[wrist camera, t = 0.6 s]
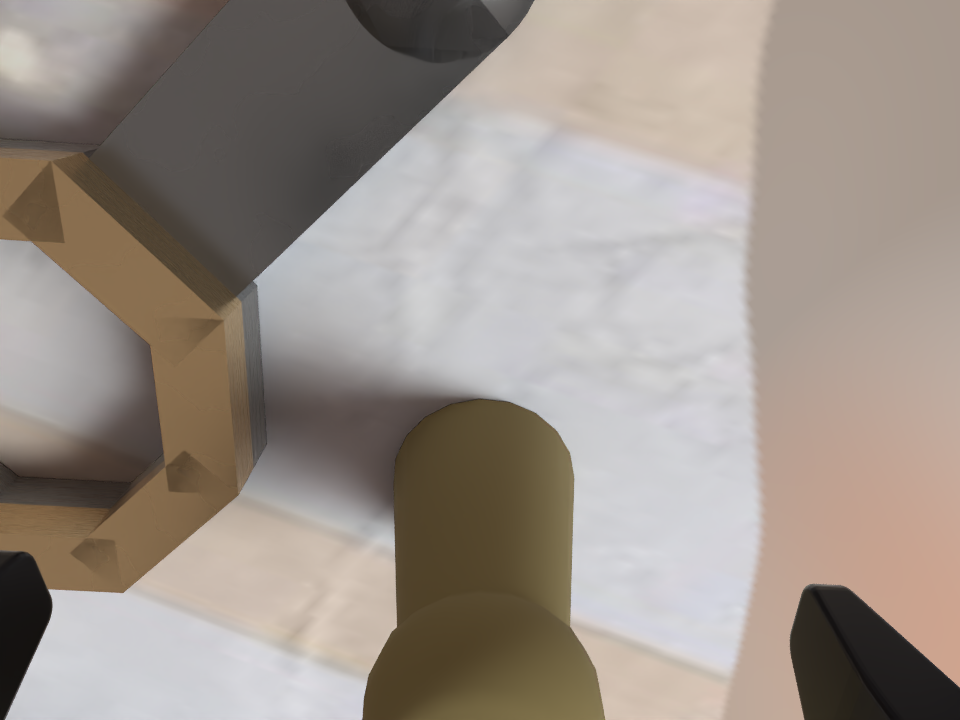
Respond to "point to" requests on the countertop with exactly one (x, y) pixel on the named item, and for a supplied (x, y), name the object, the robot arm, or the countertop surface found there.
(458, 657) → the cork
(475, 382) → the countertop surface
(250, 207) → the lower chain end
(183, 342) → the upper chain end
